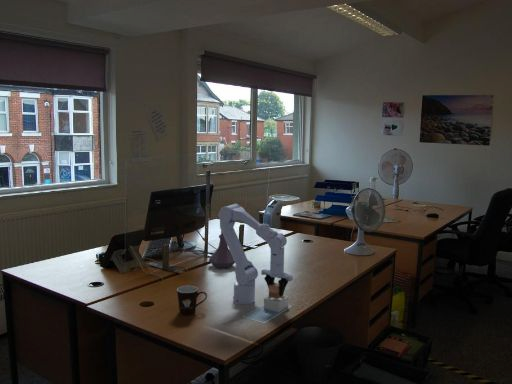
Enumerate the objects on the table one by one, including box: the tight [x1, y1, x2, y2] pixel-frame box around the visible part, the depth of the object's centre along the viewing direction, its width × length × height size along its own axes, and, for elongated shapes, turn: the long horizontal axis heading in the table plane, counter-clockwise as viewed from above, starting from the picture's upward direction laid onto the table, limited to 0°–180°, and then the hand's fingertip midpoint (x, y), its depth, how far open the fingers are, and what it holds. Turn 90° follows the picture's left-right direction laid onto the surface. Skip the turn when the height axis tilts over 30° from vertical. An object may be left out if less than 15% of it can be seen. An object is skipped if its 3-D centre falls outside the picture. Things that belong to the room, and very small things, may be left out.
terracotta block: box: [268, 281, 284, 299], centre depth 196 cm, size 4×4×5 cm
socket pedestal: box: [263, 294, 289, 312], centre depth 197 cm, size 8×8×4 cm
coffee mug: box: [176, 285, 208, 316], centre depth 191 cm, size 12×9×10 cm
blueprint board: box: [241, 304, 293, 325], centre depth 193 cm, size 22×11×1 cm, turn 146°
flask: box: [208, 230, 235, 270], centre depth 254 cm, size 16×16×20 cm
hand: (276, 293), depth 196 cm, fingers closed on terracotta block, 4 cm apart
